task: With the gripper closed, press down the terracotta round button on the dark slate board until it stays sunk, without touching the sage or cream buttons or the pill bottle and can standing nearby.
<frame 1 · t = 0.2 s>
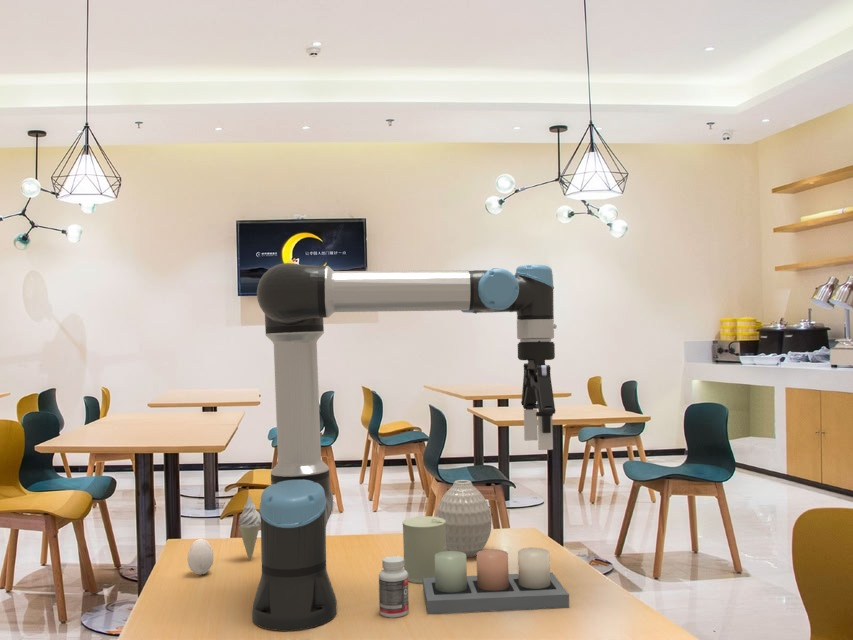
hand: (538, 444, 153), 28 cm above the table, fingers open, 13 cm apart
pill bottle: (394, 614, 137), on the table
cream button: (534, 567, 144), point 6 cm above the table, slide at 0.0 cm
can: (425, 577, 157), on the table
board: (493, 598, 143), on the table
egg: (200, 575, 162), on the table
sage button: (450, 571, 143), point 5 cm above the table, slide at 0.0 cm
ice cream cone: (250, 561, 172), on the table
terracotta button: (492, 569, 143), point 5 cm above the table, slide at 0.0 cm
vase: (464, 555, 173), on the table
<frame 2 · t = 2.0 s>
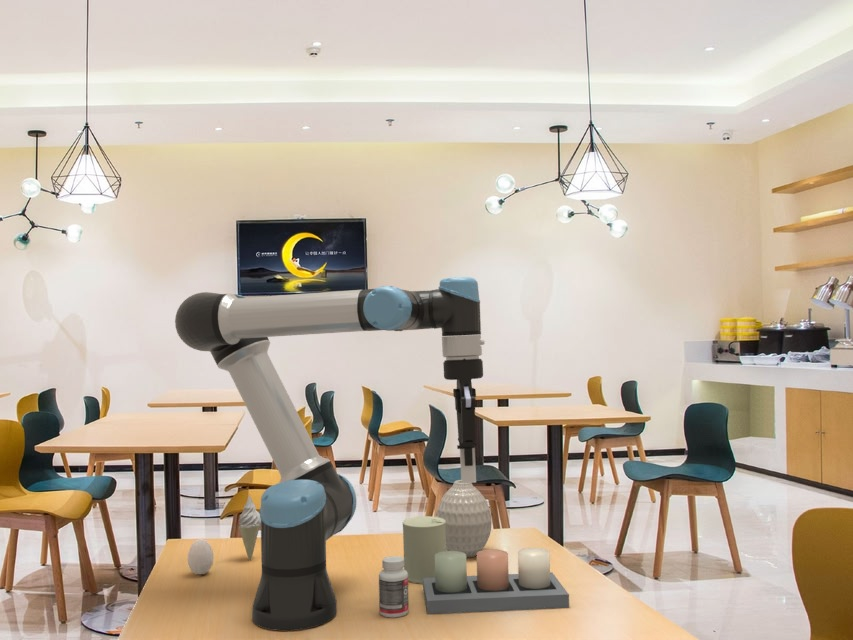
hand: (468, 482, 143), 22 cm above the table, fingers closed
nothing on the table moved.
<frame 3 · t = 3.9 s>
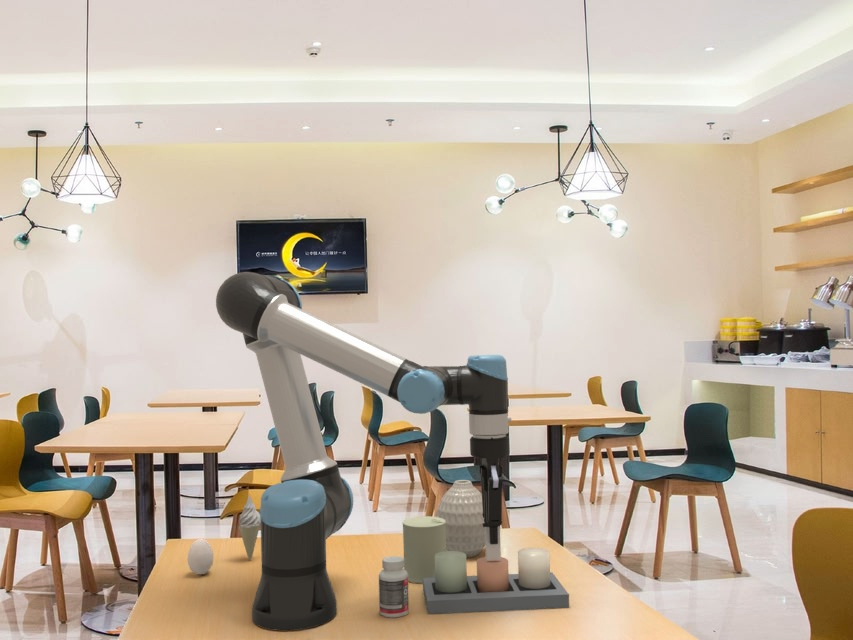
hand: (493, 559, 143), 7 cm above the table, fingers closed
terracotta button: (492, 576, 143), point 4 cm above the table, slide at 1.4 cm, touching gripper
everything else where it was.
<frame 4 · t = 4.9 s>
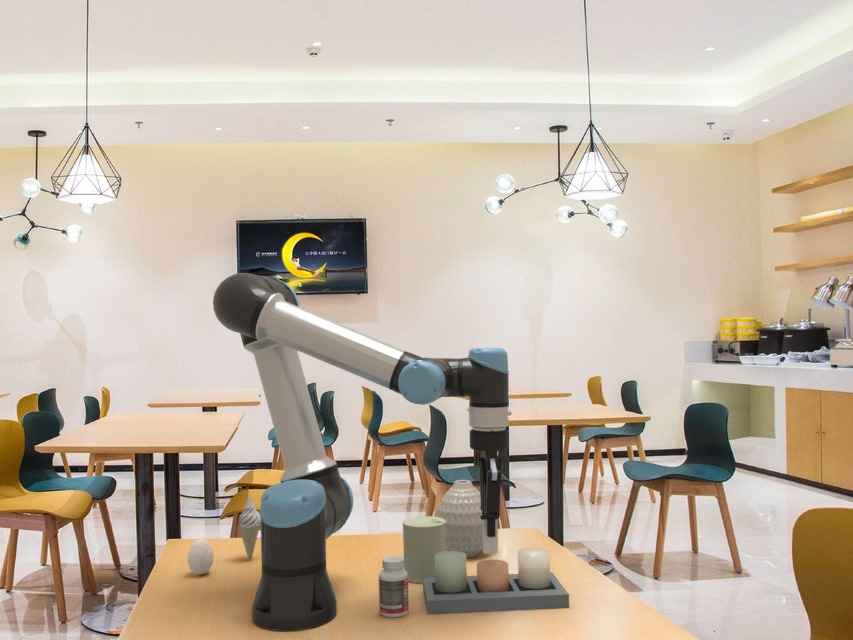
hand: (490, 552, 143), 9 cm above the table, fingers closed
terracotta button: (492, 580, 143), point 4 cm above the table, slide at 2.0 cm
everything else where it was.
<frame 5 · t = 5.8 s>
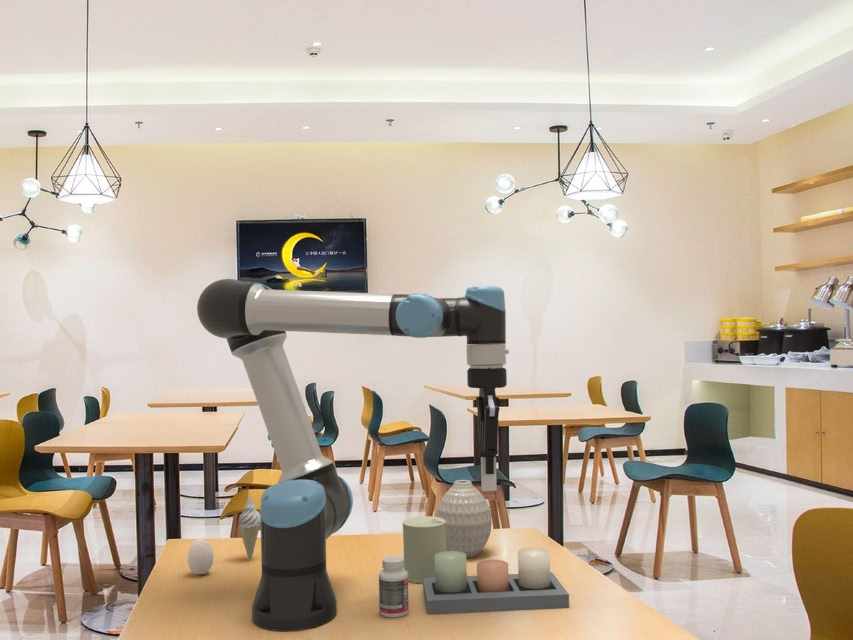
hand: (489, 490, 144), 21 cm above the table, fingers closed
nothing on the table moved.
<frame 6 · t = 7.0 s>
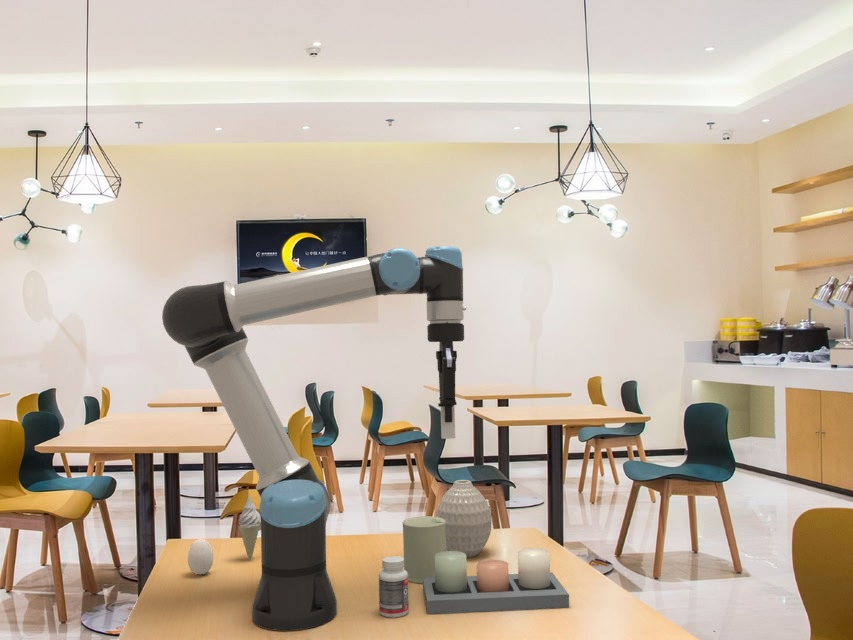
hand: (448, 437, 153), 29 cm above the table, fingers closed
nothing on the table moved.
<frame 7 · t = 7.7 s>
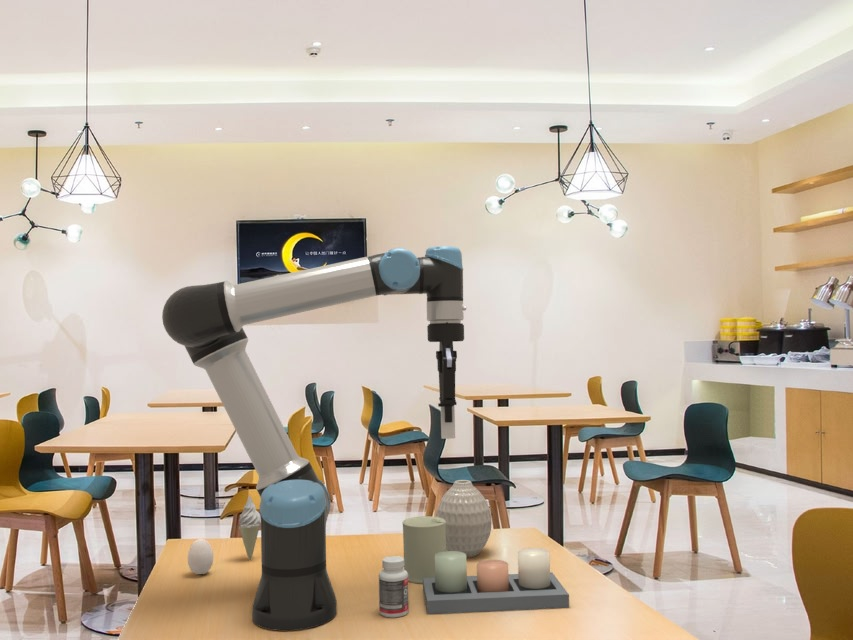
hand: (448, 437, 153), 29 cm above the table, fingers closed
nothing on the table moved.
at the end: terracotta button slide at 2.0 cm; sage button slide at 0.0 cm; cream button slide at 0.0 cm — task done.
